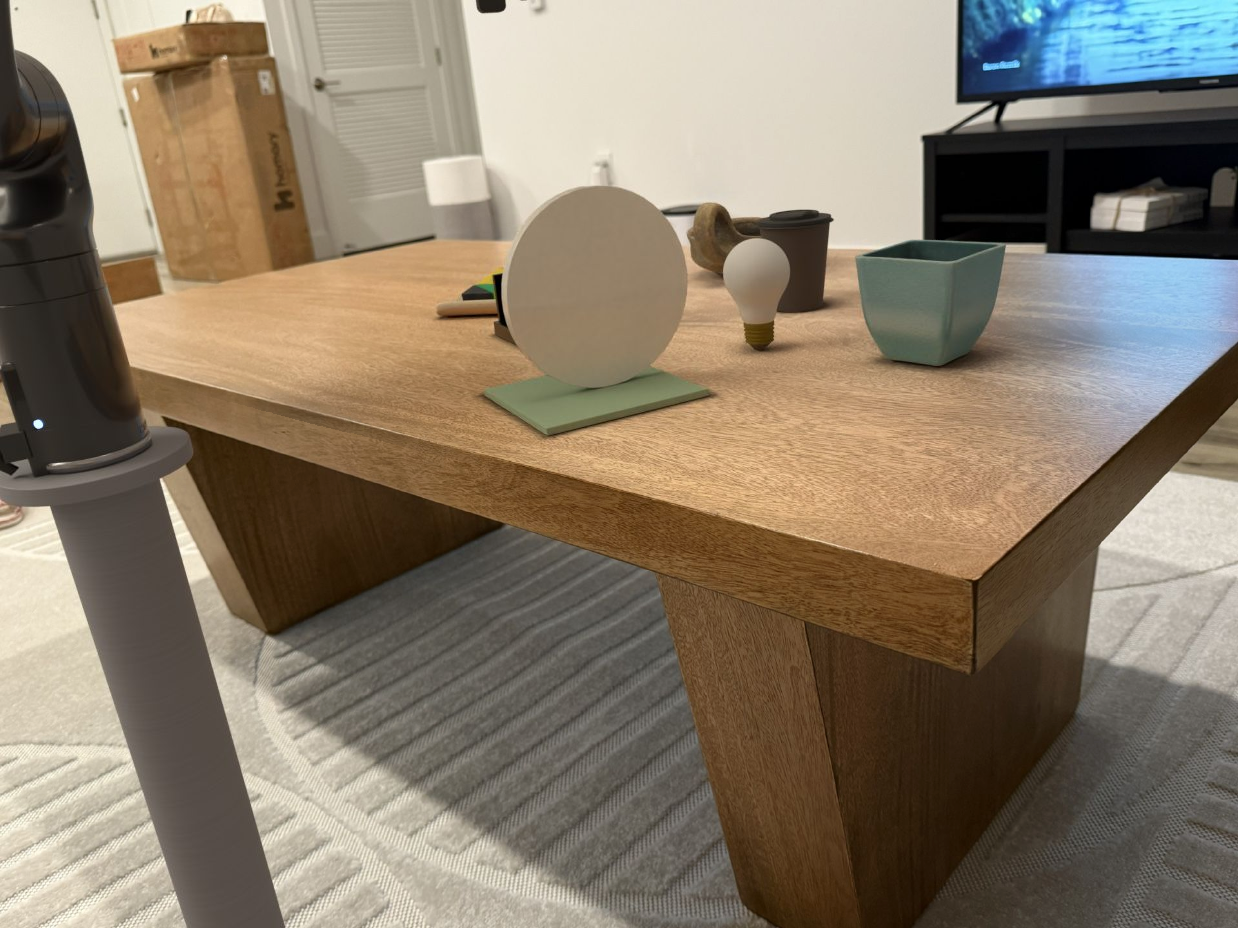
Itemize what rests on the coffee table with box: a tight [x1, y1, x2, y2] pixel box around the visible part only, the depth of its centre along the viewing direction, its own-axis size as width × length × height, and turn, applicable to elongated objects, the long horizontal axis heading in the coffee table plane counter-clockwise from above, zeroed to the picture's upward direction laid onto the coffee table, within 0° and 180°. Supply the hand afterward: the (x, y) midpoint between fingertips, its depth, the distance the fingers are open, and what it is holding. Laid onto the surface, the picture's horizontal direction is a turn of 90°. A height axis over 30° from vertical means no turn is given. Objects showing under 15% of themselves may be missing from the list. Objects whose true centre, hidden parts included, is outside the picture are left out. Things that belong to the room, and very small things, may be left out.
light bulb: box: [722, 238, 790, 351], centre depth 88 cm, size 6×6×10 cm
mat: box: [483, 365, 710, 437], centre depth 81 cm, size 14×14×1 cm
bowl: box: [685, 201, 766, 275], centre depth 124 cm, size 14×18×10 cm
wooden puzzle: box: [435, 266, 504, 317], centre depth 123 cm, size 18×19×4 cm
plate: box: [502, 184, 689, 388], centre depth 79 cm, size 16×1×16 cm, turn 117°
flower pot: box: [854, 239, 1007, 367], centre depth 81 cm, size 9×9×9 cm
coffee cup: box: [755, 209, 835, 313], centre depth 104 cm, size 8×8×10 cm
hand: (511, 6), depth 73 cm, fingers open, 8 cm apart
